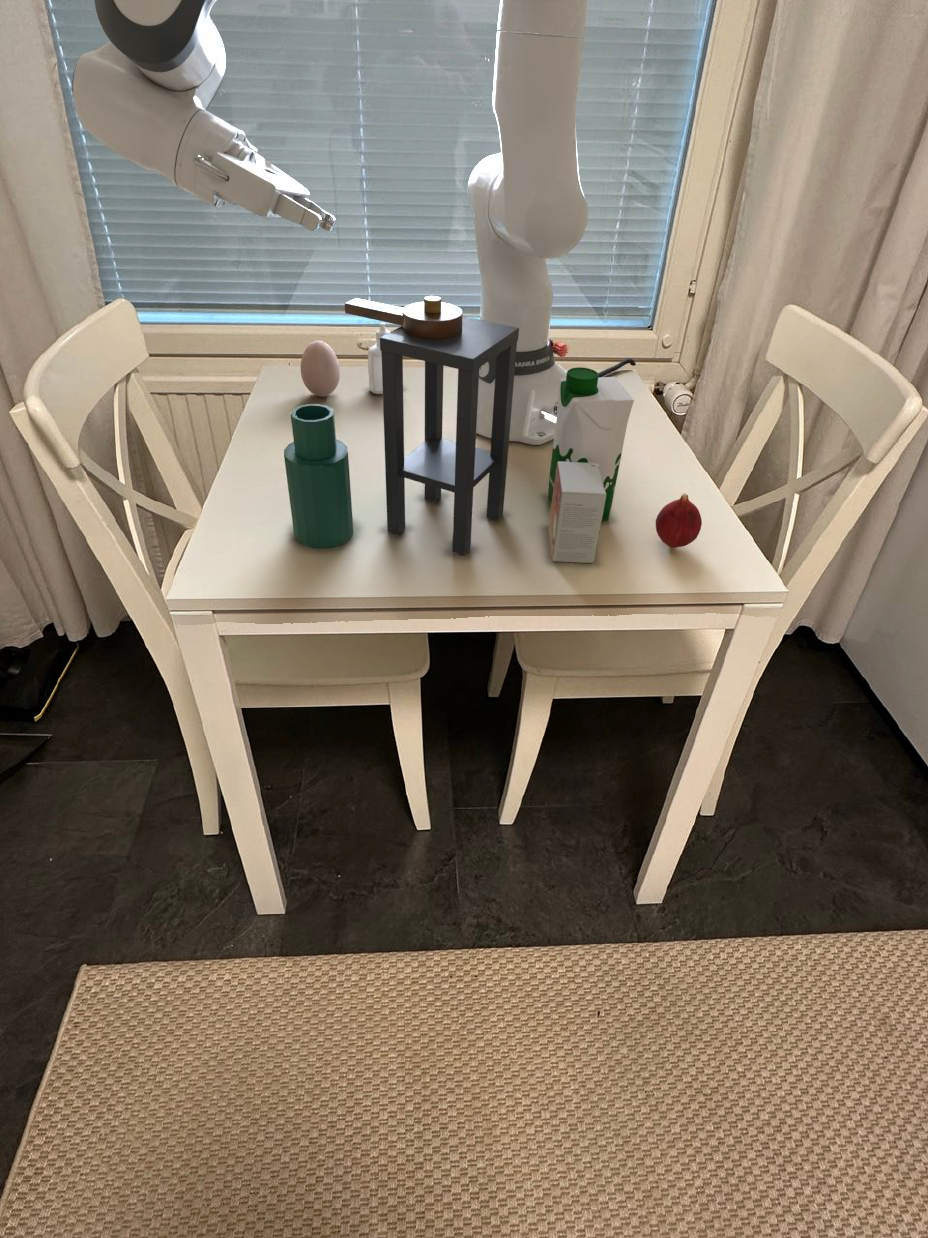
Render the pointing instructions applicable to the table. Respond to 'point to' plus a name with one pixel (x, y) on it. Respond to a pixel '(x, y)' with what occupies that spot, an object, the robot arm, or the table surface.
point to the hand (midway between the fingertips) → (326, 224)
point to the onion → (678, 522)
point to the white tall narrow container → (376, 362)
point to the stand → (448, 459)
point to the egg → (320, 369)
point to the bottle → (318, 479)
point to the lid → (414, 316)
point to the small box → (576, 512)
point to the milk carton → (591, 426)
